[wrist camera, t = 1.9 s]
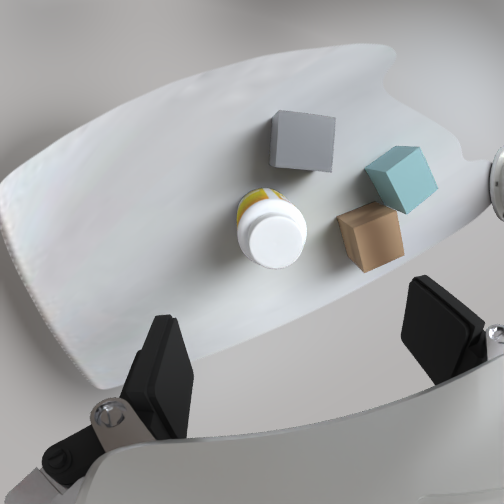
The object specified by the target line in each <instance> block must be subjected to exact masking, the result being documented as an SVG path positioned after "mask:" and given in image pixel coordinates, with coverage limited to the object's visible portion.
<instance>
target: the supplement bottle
mask: <svg viewBox="0 0 504 504" xmlns="http://www.w3.org/2000/svg"><path fill="white" fill-rule="evenodd" d="M237 237H238V242H239V245H240V248H241V250H242V251H243V253H244V254H245V255H246V256H247V257H248V258H249V259H250V260H251V261H253V262H255V263H257V264H259V265H262V266H264V267H266V268H269V269H281V268H285V267H287V266H289V265H291V264H292V263H294V262H295V261H296V260H297V259H298V257H299V256H300V254H301V252H302V249H303V247H304V244H305V241H306V237H307V227H306V223H305V220H304V217H303V216H302V214H301V213H300V211H299V210H298V209H297V208H296V207H295V206H294V205H293V204H292V203H291V202H290V201H289V200H288V199H287V198H286V197H284V196H283V195H282V194H281V193H280V192H278V191H276V190H274V189H270V188H258V189H255V190H252V191H250V192H249V193H247V194H246V195H245V196H244V197H243V198H242V200H241V201H240V203H239V205H238V209H237Z"/></svg>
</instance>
